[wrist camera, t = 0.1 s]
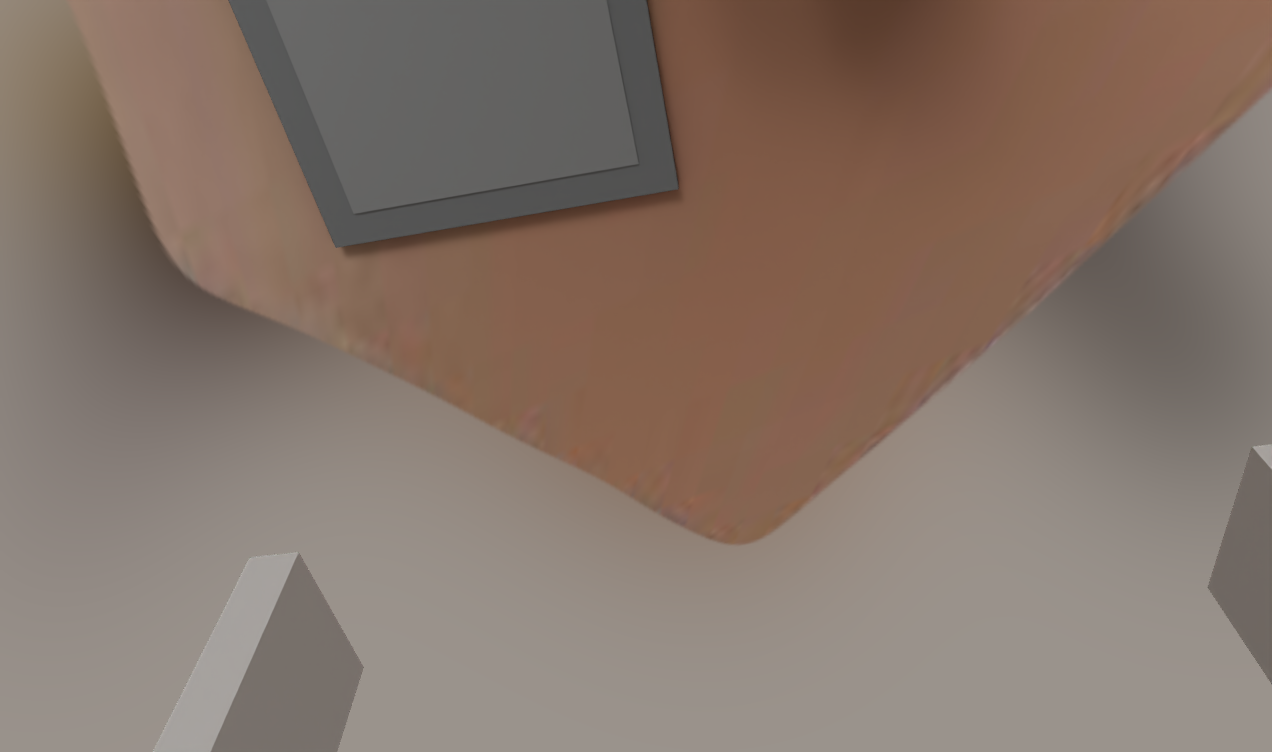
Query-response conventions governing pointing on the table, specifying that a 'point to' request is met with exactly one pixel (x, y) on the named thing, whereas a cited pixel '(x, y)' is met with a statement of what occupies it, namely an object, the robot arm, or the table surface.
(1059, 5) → the table surface
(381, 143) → the coaster mat
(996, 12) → the table surface
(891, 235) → the table surface
